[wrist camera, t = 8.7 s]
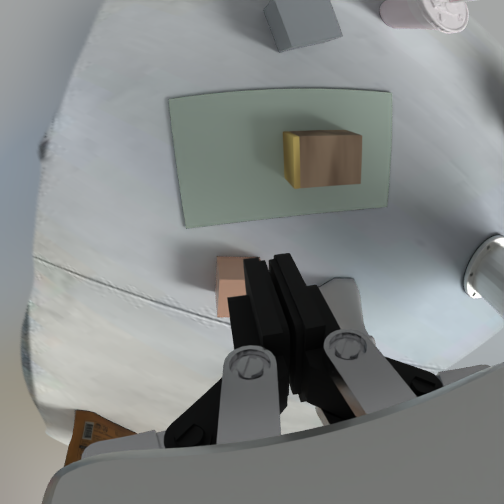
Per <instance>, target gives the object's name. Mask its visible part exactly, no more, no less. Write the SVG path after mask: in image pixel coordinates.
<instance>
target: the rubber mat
mask: <svg viewBox="0 0 504 504" xmlns="http://www.w3.org/2000/svg"><path fill="white" fill-rule="evenodd" d="M169 109H170V118H171V126H172V135H173V143H174V151H175V158H176V166H177V173H178V180H179V187H180V194H181V200H182V207H183V213H184V219H185V225H186V229H189V228H196V227H204V226H212V225H220V224H228V223H236V222H245V221H253V220H262V219H271V218H280V217H289V216H298V215H308V214H318V213H328V212H338V211H348V210H359V209H370V208H382V207H387V201H388V190H389V178H390V162H391V142H392V93H388V92H377V91H363V90H346V89H265V90H247V91H234V92H222V93H212V94H203V95H195V96H187V97H180V98H173V99H169ZM308 130H348V131H351V132H354V133H357V134H360V135H362V167H361V184H353V185H338V186H324V187H311V188H299V189H294V188H293V187H292V186H291V185H290V183H289V182H288V181H287V180H286V179H285V178H284V152H283V132H285V131H308Z"/></svg>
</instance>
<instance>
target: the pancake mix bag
mask: <svg viewBox="0 0 504 504" xmlns="http://www.w3.org/2000/svg"><path fill="white" fill-rule="evenodd" d="M135 434H137V433H135V432H133V431H130V430H128V429H126V428H124V427H122V426H119V425H117V424H115V423H113V422H111V421H109V420H107V419H105V418H103V417H101V416H99V415H98V414H96V413H94V412H90V411H83V410H75V420H74V428H73V435H72V439H71V441H70V444H69V447H68V452H67V456H66V460H65V465H64V467H65V466H67V465H69V464H71V463H73V462H76V461H79V460H81V458H82V454H83V452H84V450H85V448H87V447H88V446H89V445H90V444H92V443H95V442H98V441H104V440H109V439H115V438H120V437H125V436H130V435H135Z"/></svg>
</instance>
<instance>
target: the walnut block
mask: <svg viewBox="0 0 504 504" xmlns="http://www.w3.org/2000/svg"><path fill="white" fill-rule="evenodd" d="M283 152H284V178H285V179H286V180H287V181H288V182H289V183H290V185H291V186H292V187H293V188H294V189H299V188H311V187H324V186H338V185H353V184H361V167H362V135H360V134H357V133H354V132H351V131H348V130H308V131H285V132H283Z"/></svg>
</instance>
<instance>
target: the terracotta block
mask: <svg viewBox="0 0 504 504" xmlns="http://www.w3.org/2000/svg"><path fill="white" fill-rule="evenodd" d="M247 258H255V257H223V256H217V266H216V286H215V295H216V307H217V317H230V315H229V308H228V301H227V297H234V296H242V295H246V288H245V277H244V266H243V259H247ZM259 260H260V257H259ZM260 261H261V260H260Z"/></svg>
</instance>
